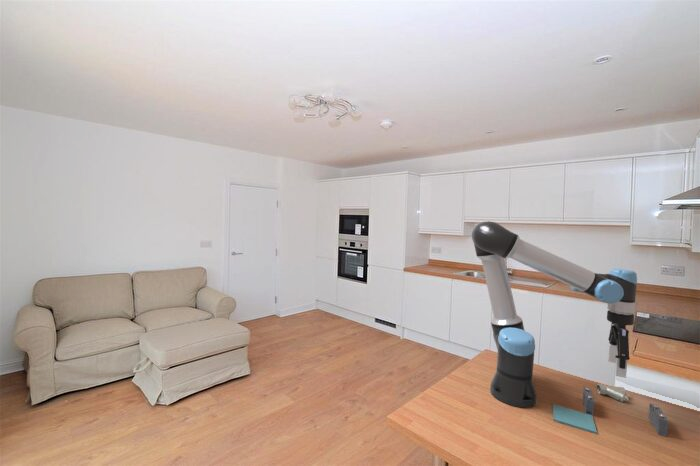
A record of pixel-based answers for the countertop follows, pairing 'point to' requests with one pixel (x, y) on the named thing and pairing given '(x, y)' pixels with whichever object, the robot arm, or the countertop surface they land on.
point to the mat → (574, 418)
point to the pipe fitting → (613, 392)
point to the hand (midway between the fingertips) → (616, 369)
